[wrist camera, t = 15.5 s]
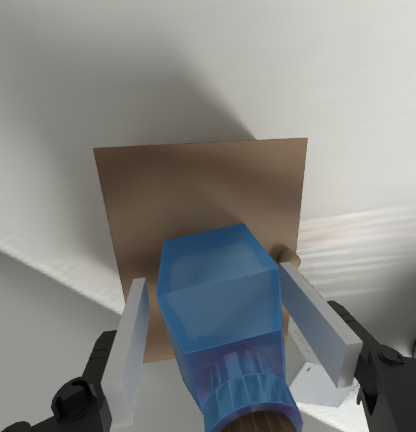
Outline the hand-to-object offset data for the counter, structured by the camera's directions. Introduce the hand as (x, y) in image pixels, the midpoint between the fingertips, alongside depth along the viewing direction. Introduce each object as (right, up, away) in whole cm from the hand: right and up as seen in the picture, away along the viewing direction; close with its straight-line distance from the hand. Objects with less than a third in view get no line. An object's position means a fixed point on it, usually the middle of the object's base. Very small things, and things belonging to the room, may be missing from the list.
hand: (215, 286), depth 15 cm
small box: (+10, -9, +17) cm, 22 cm away
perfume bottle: (0, +1, +3) cm, 3 cm away
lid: (0, +1, +3) cm, 4 cm away
